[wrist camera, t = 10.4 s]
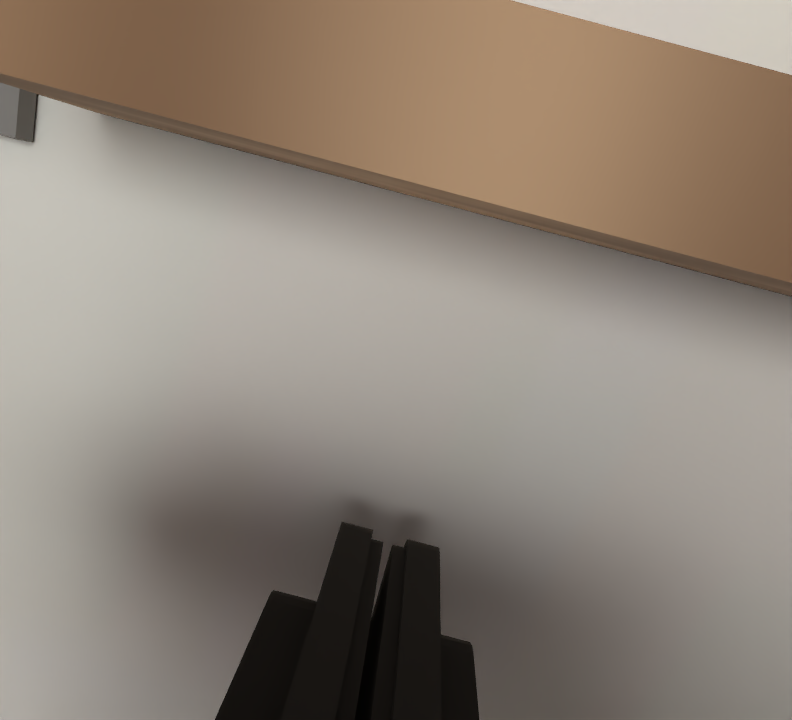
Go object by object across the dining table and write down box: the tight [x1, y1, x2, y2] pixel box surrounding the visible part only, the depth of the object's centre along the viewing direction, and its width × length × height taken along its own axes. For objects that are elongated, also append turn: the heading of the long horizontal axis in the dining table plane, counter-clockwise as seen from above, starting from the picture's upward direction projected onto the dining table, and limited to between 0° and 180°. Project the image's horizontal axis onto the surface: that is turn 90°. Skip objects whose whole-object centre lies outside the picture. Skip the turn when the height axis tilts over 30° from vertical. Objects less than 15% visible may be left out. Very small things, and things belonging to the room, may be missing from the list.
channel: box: [0, 0, 792, 296], centre depth 9 cm, size 18×16×4 cm
